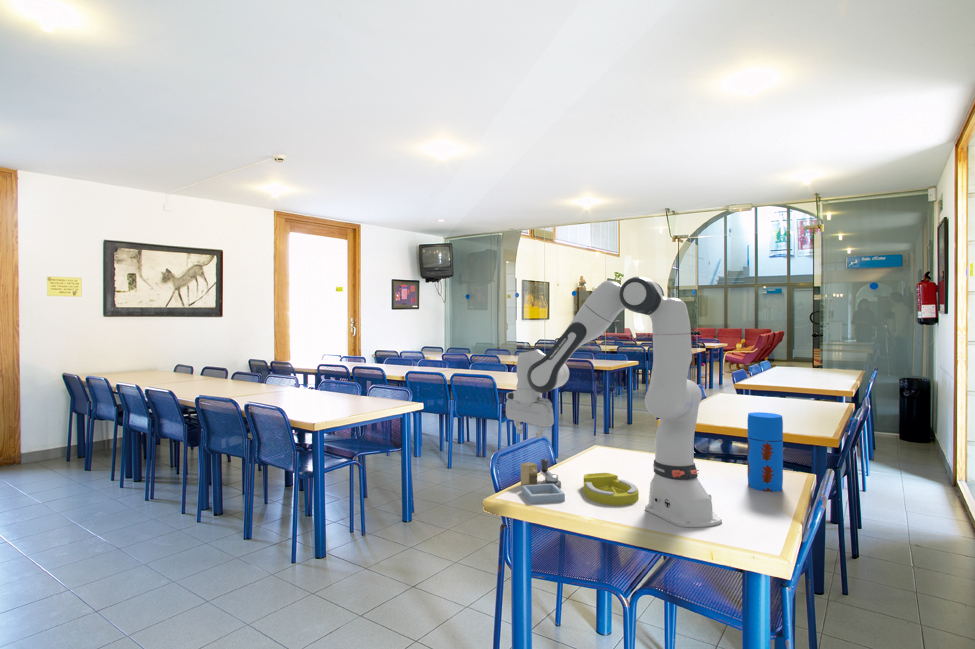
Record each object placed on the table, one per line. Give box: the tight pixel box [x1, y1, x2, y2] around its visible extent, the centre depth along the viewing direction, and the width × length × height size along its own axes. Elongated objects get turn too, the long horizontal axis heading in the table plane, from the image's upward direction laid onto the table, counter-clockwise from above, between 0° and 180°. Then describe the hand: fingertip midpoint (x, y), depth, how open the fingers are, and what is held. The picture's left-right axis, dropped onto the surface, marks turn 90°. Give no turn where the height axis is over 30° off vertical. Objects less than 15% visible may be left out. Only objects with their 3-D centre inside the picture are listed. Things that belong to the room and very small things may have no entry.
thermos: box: [747, 411, 784, 493], centre depth 183 cm, size 11×11×25 cm
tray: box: [521, 483, 566, 504], centre depth 173 cm, size 11×11×3 cm
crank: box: [539, 458, 559, 483], centre depth 186 cm, size 11×4×6 cm, turn 12°
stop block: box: [520, 461, 538, 486], centre depth 185 cm, size 4×4×8 cm
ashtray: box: [583, 472, 640, 506], centre depth 175 cm, size 16×21×5 cm
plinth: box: [541, 479, 562, 490], centre depth 182 cm, size 6×16×2 cm, turn 102°
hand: (529, 435), depth 185 cm, fingers open, 8 cm apart
